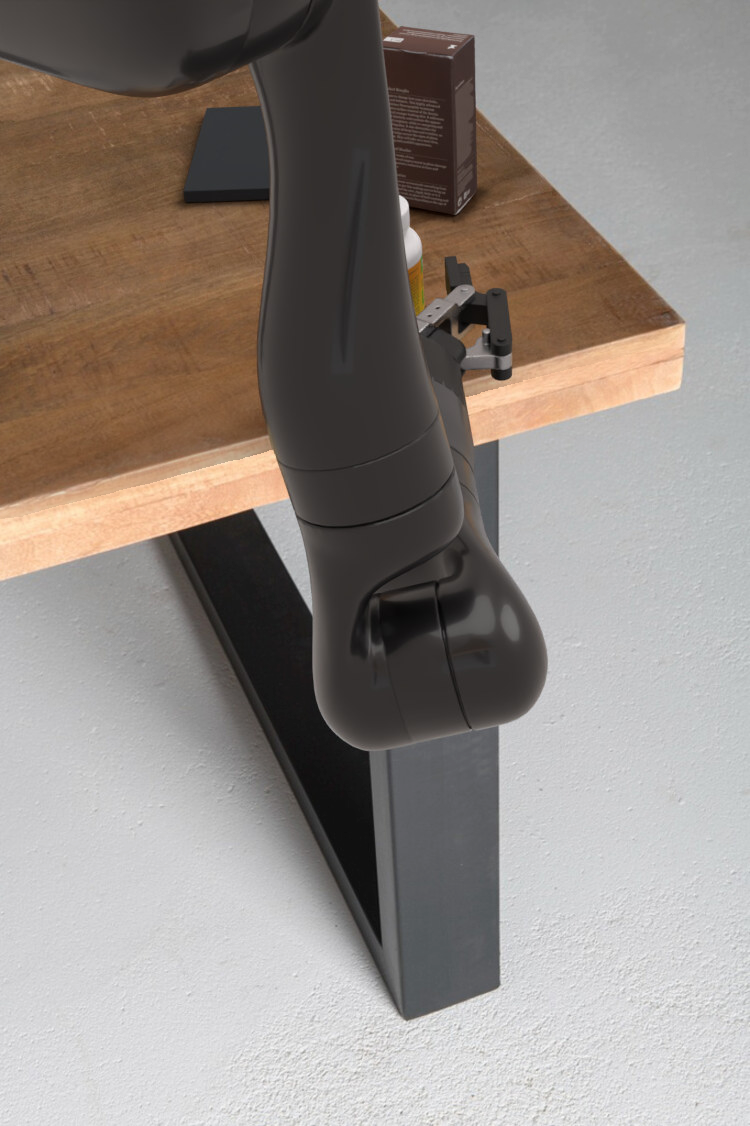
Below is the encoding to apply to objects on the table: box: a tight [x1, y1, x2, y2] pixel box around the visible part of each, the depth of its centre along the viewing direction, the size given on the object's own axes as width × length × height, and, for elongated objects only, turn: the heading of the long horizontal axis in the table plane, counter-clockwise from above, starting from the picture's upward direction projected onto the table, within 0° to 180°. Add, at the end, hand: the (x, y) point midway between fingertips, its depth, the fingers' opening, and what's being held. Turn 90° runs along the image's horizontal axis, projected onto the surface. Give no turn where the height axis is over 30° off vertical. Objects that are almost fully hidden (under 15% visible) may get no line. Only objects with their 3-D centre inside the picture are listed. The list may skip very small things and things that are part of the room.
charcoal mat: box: [182, 105, 270, 203], centre depth 112 cm, size 14×14×1 cm
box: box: [382, 25, 478, 216], centre depth 102 cm, size 6×4×12 cm
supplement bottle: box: [399, 195, 426, 316], centre depth 89 cm, size 5×5×10 cm
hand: (381, 274), depth 87 cm, fingers open, 8 cm apart
